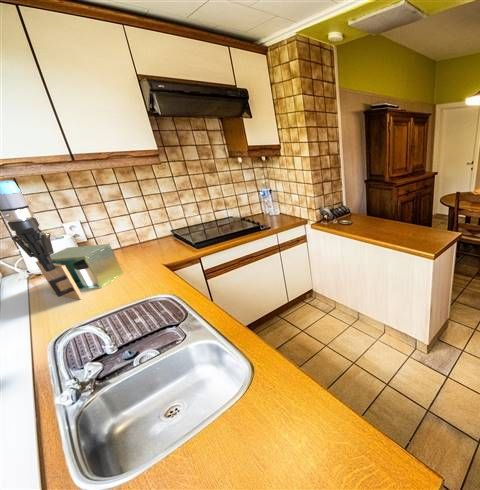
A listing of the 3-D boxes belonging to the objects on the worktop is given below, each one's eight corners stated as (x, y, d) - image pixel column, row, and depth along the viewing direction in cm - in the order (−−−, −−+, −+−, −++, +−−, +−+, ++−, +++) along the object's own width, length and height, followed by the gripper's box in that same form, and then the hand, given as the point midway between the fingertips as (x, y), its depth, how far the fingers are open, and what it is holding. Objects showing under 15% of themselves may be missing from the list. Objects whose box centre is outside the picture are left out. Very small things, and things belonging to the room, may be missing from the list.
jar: (109, 279, 139) (99, 258, 135) (91, 287, 132) (79, 266, 128) (99, 276, 142) (88, 257, 137) (80, 284, 135) (68, 264, 130)
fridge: (102, 288, 133) (85, 256, 126) (58, 292, 131) (38, 260, 124) (123, 273, 147) (109, 243, 139) (84, 277, 145) (67, 247, 138)
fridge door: (66, 306, 119) (45, 272, 112) (40, 300, 125) (18, 267, 118) (84, 298, 125) (65, 265, 118) (58, 292, 131) (38, 260, 124)
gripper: (-8, 223, 104) (25, 275, 113) (29, 220, 105) (58, 272, 115) (13, 217, 111) (43, 267, 120) (47, 215, 112) (74, 264, 121)
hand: (50, 270), depth 117 cm, fingers closed
